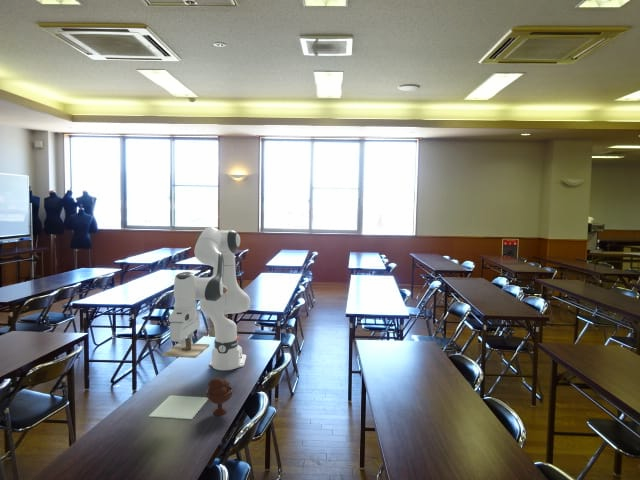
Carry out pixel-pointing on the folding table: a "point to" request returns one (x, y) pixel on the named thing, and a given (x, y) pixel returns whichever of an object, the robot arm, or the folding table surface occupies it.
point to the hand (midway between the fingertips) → (186, 345)
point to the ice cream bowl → (219, 393)
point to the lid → (186, 350)
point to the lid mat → (179, 407)
